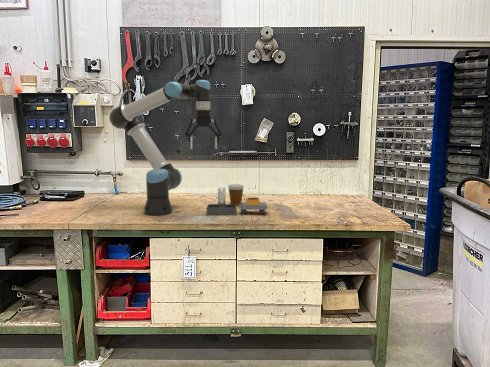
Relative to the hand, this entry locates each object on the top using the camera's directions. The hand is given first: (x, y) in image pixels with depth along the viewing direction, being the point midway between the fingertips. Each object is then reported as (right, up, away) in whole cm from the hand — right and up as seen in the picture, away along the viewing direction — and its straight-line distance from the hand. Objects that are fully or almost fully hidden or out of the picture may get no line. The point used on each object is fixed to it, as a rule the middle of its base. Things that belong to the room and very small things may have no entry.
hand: (203, 148), depth 209 cm
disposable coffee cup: (+17, -32, +18) cm, 41 cm away
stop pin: (+10, -35, -3) cm, 36 cm away
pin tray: (+10, -36, -2) cm, 37 cm away
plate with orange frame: (+27, -36, -2) cm, 45 cm away
